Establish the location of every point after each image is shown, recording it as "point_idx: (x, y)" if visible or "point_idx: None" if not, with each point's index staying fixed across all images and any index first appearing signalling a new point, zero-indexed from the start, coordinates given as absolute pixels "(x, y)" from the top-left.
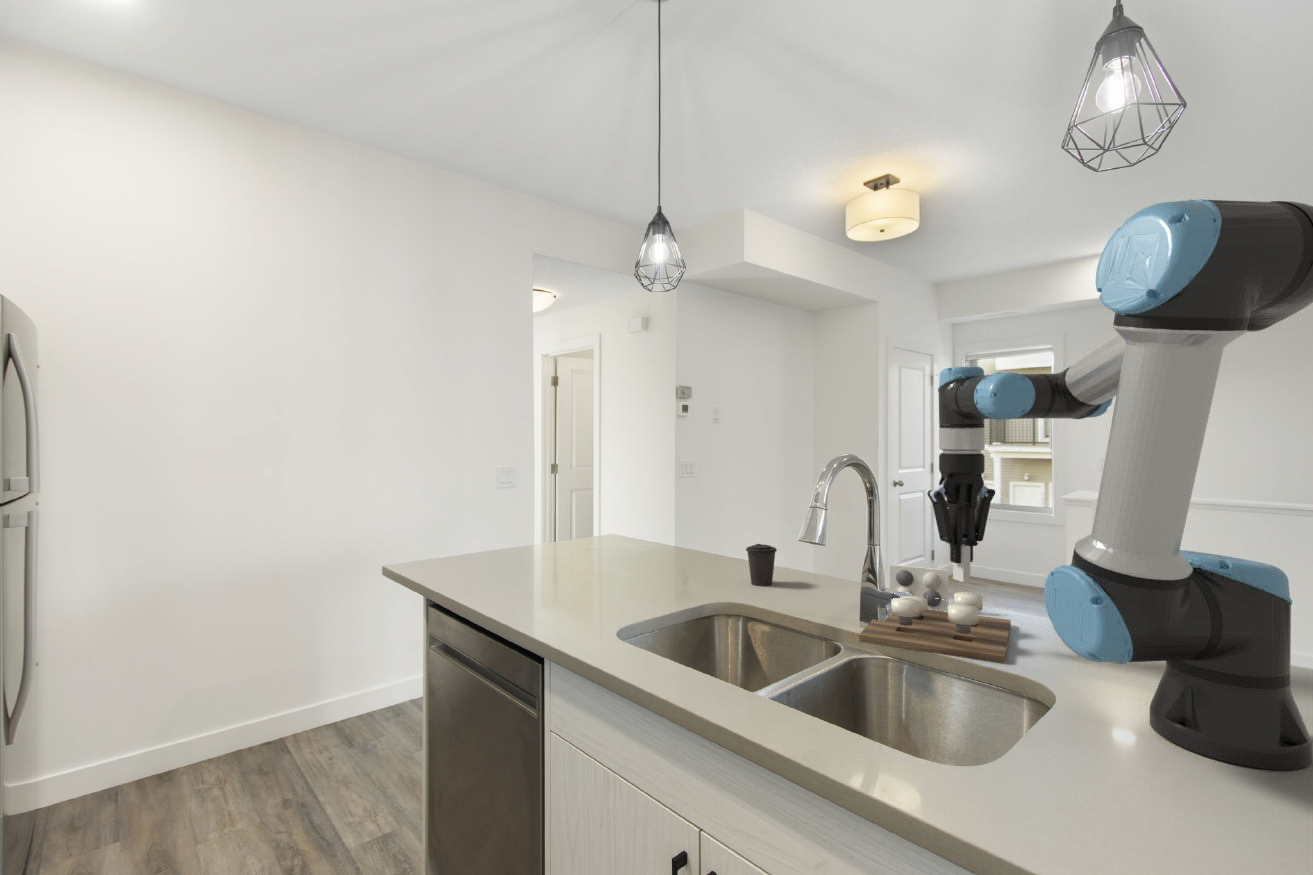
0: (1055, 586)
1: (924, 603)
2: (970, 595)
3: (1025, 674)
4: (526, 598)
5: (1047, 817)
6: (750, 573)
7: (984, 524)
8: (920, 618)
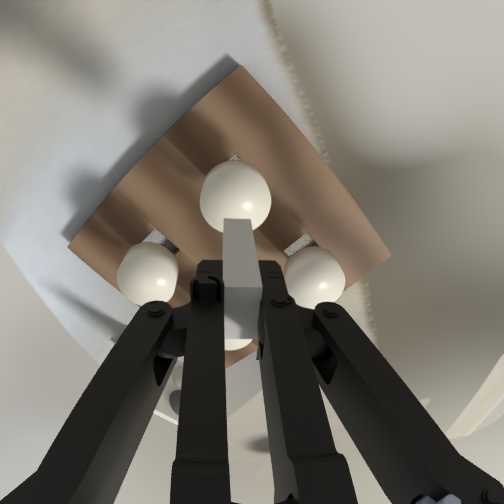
0: None
1: None
2: (140, 281)
3: (249, 15)
4: (498, 406)
5: None
6: None
7: (115, 360)
8: None
